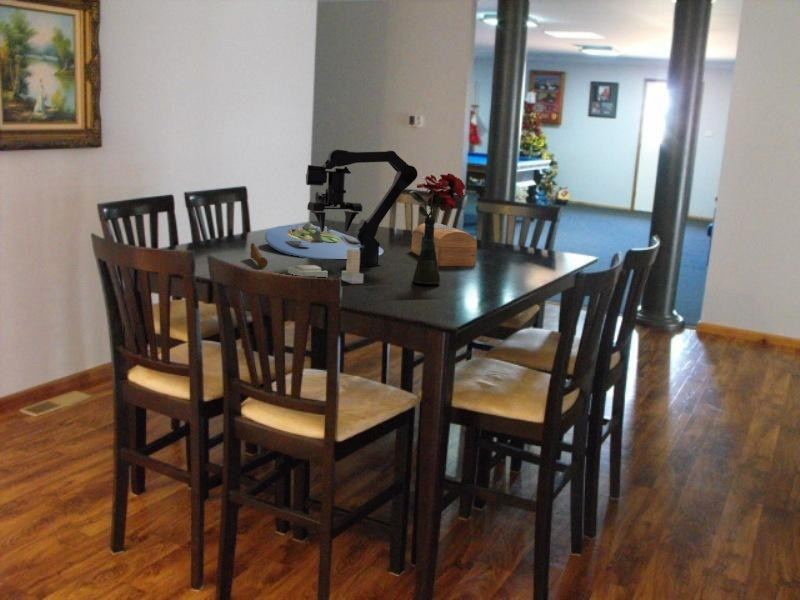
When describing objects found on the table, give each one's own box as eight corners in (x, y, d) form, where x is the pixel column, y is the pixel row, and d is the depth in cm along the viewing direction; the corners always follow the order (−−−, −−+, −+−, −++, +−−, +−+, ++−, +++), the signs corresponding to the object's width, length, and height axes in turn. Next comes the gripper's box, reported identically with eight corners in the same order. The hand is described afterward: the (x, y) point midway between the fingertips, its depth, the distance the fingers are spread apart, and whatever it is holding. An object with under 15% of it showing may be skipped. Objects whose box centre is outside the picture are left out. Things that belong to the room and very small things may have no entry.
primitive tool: (251, 257, 289) (242, 256, 287) (253, 242, 287) (243, 241, 286) (267, 268, 272) (257, 268, 270) (269, 252, 271) (259, 252, 269)
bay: (313, 271, 271) (313, 265, 270) (327, 277, 261) (327, 271, 261) (287, 272, 266) (288, 266, 266) (301, 278, 257) (302, 272, 256)
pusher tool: (352, 279, 261) (354, 248, 259) (363, 283, 255) (364, 251, 253) (341, 280, 259) (342, 248, 257) (351, 283, 253) (353, 251, 251)
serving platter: (400, 270, 311) (404, 239, 307) (298, 276, 287) (302, 242, 283) (342, 238, 345) (345, 209, 341) (247, 241, 321) (249, 210, 317)
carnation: (395, 277, 270) (402, 170, 263) (447, 277, 276) (454, 172, 269) (412, 285, 255) (419, 172, 248) (466, 285, 261) (474, 175, 255)
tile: (315, 274, 268) (315, 265, 268) (321, 277, 263) (321, 268, 262) (297, 274, 266) (297, 265, 265) (303, 277, 260) (303, 268, 260)
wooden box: (407, 256, 322) (410, 221, 319) (447, 256, 327) (449, 222, 324) (433, 268, 294) (436, 230, 291) (476, 269, 299) (478, 231, 296)
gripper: (349, 185, 292) (347, 228, 295) (301, 184, 282) (299, 229, 285) (364, 187, 283) (362, 232, 286) (315, 186, 273) (313, 232, 276)
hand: (334, 231), depth 283 cm, fingers open, 9 cm apart
